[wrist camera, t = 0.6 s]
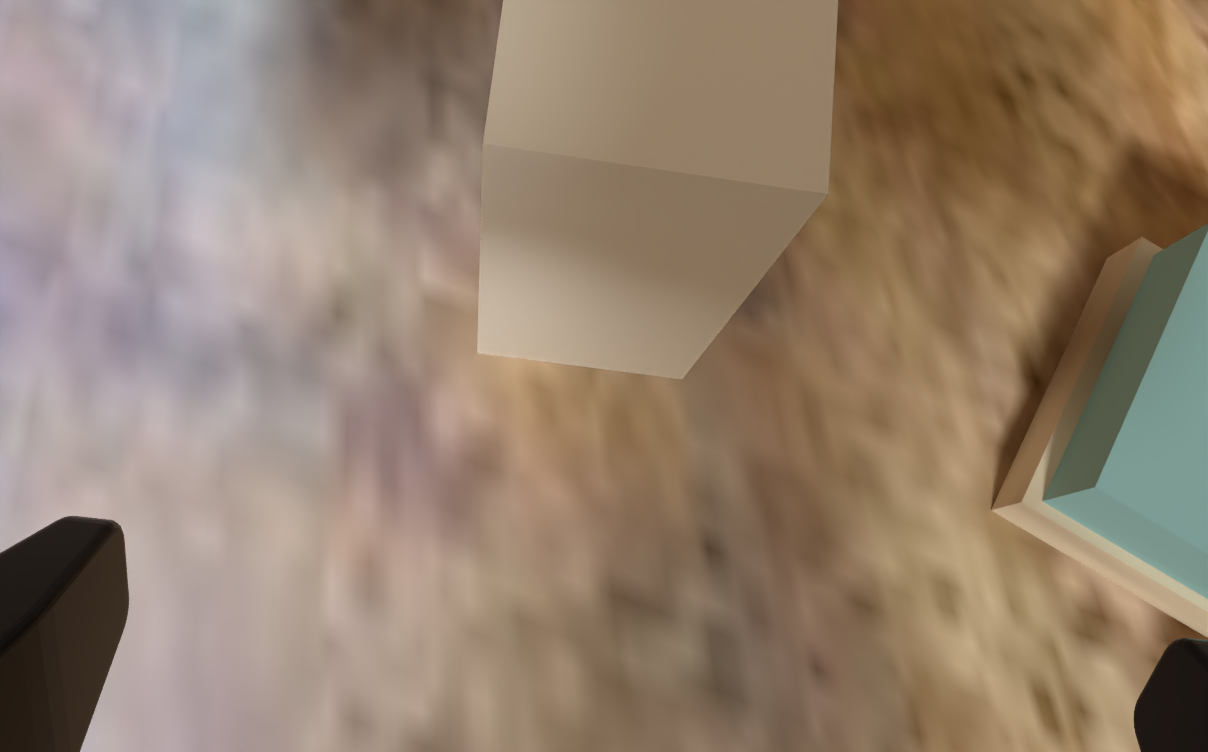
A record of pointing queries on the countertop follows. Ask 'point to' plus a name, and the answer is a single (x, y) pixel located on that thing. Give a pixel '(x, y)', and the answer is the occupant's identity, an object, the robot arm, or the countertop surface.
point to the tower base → (1056, 428)
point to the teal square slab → (1150, 425)
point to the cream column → (646, 171)
